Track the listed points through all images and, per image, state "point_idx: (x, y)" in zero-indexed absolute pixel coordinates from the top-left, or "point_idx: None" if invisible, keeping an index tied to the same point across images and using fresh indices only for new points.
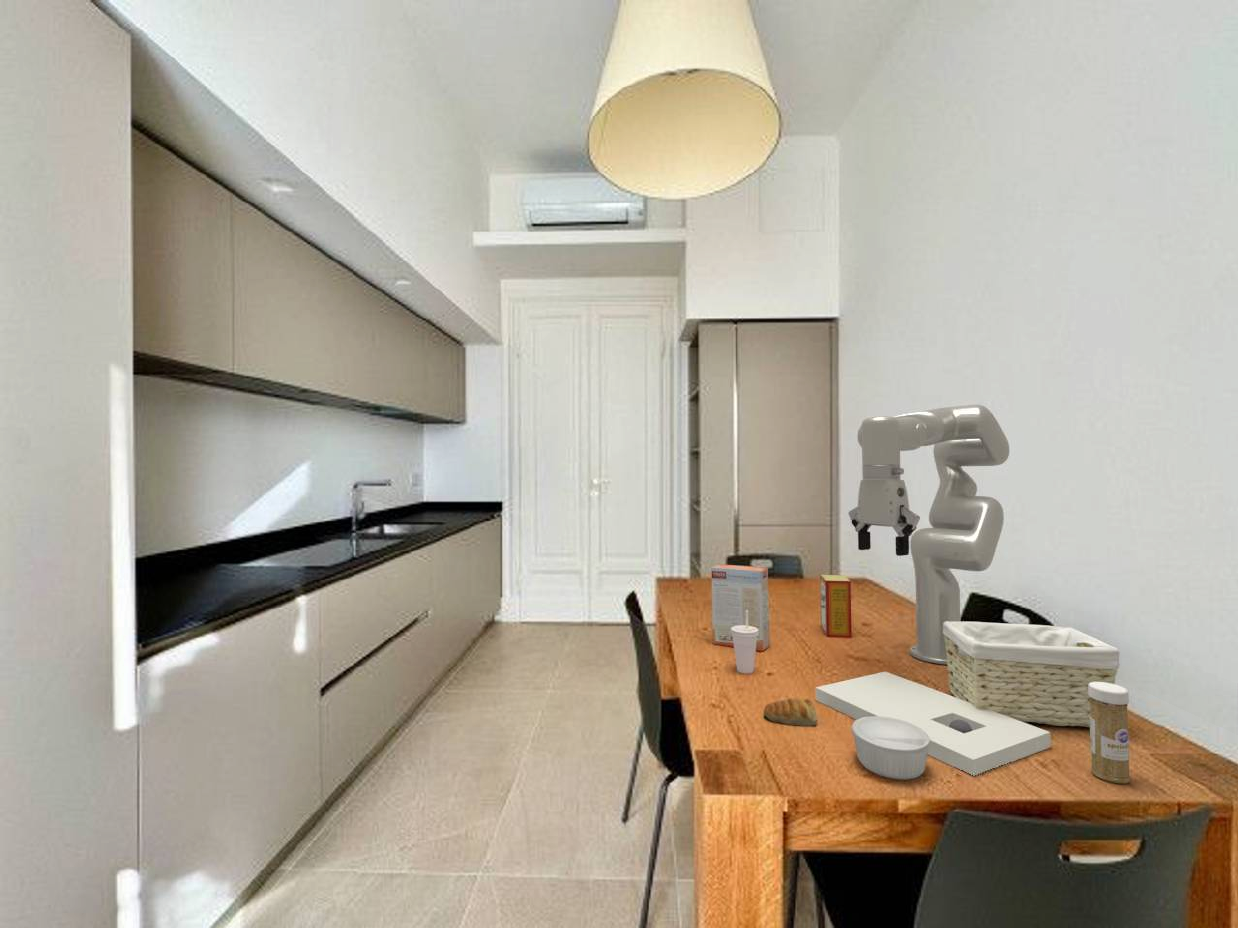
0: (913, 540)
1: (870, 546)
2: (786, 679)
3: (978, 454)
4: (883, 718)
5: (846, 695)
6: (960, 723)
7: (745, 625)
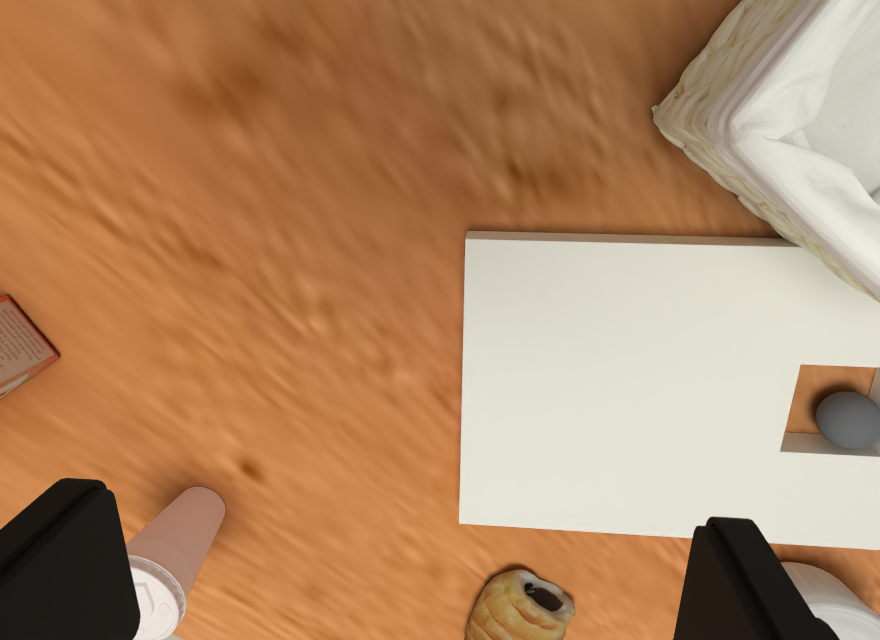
0: None
1: (88, 504)
2: (307, 461)
3: None
4: None
5: (545, 499)
6: (868, 443)
7: None
